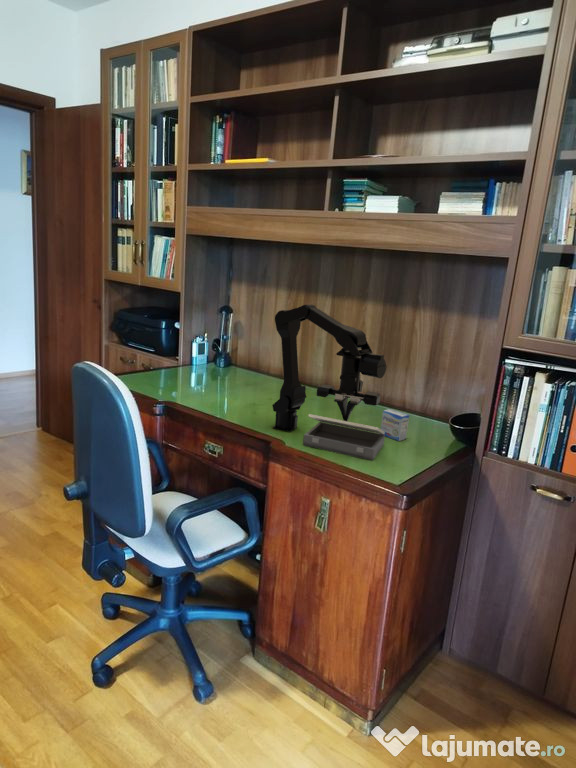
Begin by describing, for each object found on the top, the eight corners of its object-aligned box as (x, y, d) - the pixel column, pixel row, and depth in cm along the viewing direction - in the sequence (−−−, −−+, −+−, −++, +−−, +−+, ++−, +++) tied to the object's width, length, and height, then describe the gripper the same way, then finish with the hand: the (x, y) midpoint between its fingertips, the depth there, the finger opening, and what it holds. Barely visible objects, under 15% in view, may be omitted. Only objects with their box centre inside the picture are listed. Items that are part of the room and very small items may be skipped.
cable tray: (302, 446, 162) (303, 435, 161) (318, 431, 176) (319, 421, 176) (372, 461, 155) (373, 450, 154) (383, 445, 169) (384, 434, 168)
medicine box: (379, 434, 179) (382, 410, 176) (386, 432, 182) (390, 408, 180) (398, 441, 173) (402, 416, 171) (406, 439, 176) (409, 414, 174)
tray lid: (308, 416, 162) (308, 413, 163) (320, 421, 175) (320, 419, 176) (377, 429, 155) (377, 427, 155) (384, 434, 168) (384, 431, 168)
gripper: (386, 372, 162) (381, 420, 166) (329, 363, 169) (325, 410, 173) (378, 378, 152) (373, 429, 156) (318, 369, 159) (313, 418, 163)
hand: (345, 421), depth 162 cm, fingers closed, pressing on tray lid
